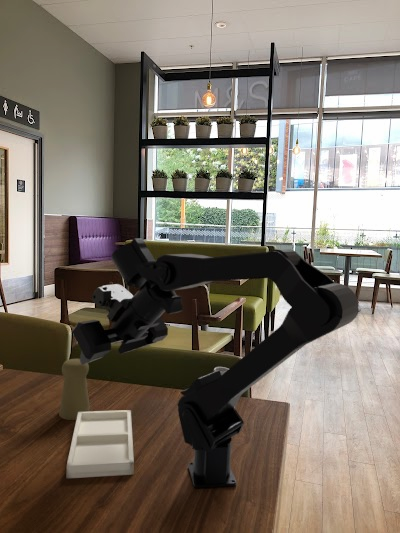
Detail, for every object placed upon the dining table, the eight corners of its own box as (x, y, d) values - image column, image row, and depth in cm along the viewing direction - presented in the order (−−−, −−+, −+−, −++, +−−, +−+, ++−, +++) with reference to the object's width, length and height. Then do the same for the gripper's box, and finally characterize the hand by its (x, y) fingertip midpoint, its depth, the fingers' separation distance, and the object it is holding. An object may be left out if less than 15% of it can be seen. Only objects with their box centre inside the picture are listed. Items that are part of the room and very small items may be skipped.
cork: (85, 420, 87) (86, 365, 86) (54, 419, 87) (55, 364, 86) (93, 407, 93) (94, 356, 92) (64, 406, 93) (65, 355, 92)
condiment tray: (133, 474, 69) (133, 462, 69) (66, 478, 67) (66, 465, 67) (130, 419, 88) (130, 410, 88) (78, 421, 86) (78, 411, 86)
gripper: (158, 268, 87) (118, 315, 94) (80, 274, 72) (39, 329, 79) (188, 314, 83) (144, 359, 90) (112, 331, 68) (66, 383, 75)
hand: (101, 356), depth 84 cm, fingers open, 9 cm apart
